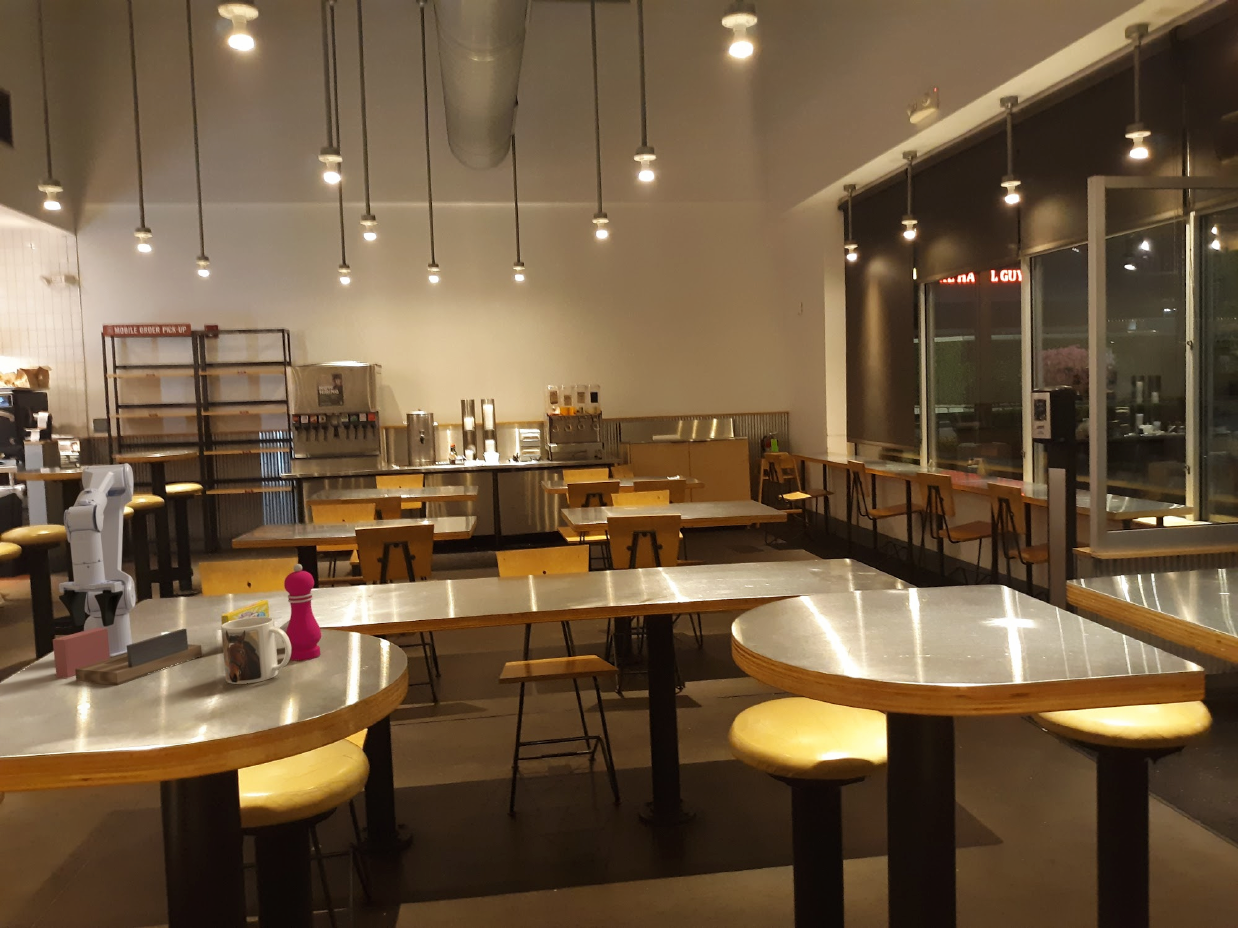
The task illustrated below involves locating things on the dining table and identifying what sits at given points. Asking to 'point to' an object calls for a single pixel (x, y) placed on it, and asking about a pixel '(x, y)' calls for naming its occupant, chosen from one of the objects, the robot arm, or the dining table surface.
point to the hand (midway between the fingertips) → (94, 625)
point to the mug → (252, 649)
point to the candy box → (247, 612)
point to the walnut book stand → (120, 673)
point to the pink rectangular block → (80, 650)
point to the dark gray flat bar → (157, 647)
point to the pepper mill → (302, 616)
